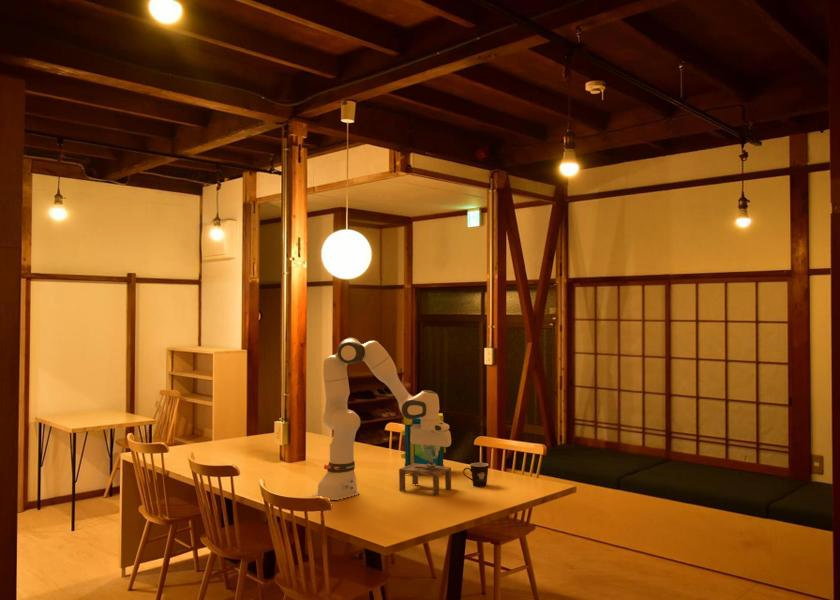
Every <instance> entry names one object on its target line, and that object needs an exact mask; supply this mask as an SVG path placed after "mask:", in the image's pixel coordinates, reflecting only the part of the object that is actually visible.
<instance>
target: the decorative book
mask: <svg viewBox="0 0 840 600" xmlns="http://www.w3.org/2000/svg"><path fill="white" fill-rule="evenodd" d="M439 418H440V421H441V422H444V415H443V412H442V413H441V412H439ZM414 424H421V417H420V418H416V419H407V418H406V417H404V416H403V425H404V430H403V429H402V430H400V435H401V436H404V446H405V447H404V452H402V453H400V458H401V459H404V460H405V462H404V467H406V466H408V465H411V464H414V463H417V464H426V465H427V463H429V460H426V459H424V453H423V449H422V448H421V445H419V444H412V443H411V426H412V425H414ZM416 427H417V426H416ZM429 446H430V445H426V446H425V448H426V447H429ZM434 447H436V446H434ZM446 448H447V447H441V446H440V449H439V451H438V458H435V459H433V463H435V466H444V467H445V464H444V453H447V452H446V451H447V449H446ZM432 471H433V470H432ZM405 474H412V473H407V472H405ZM441 475H442V476H443V475H444V476H445V473H443V474H441Z"/></svg>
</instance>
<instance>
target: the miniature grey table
mask: <svg viewBox="0 0 840 600" xmlns="http://www.w3.org/2000/svg"><path fill="white" fill-rule="evenodd" d="M432 470H433V471H432ZM398 472H399V473H398V476H399V479H398V482H399V483H398V486H399V487H398V489H399V490H404V491H406V475H405V472H407V473H412V475H411V476H412V481H411V482H412V484H415V485H414V486H417V485H416V484H418V485H419V475H425V476H432V486H433V487H432V489H433V490H432V494H433V496H436V495H438V496H440V475H441V474H443V473H444V476H445V480H444V481H445V490H449V491H450V490H452V467H450V466H445V465H444V466H435V468H427V465H426V464H417V463H414V464H411V465H408V466H406V467H405V466H404V467H400V468H398Z"/></svg>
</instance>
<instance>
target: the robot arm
mask: <svg viewBox="0 0 840 600" xmlns="http://www.w3.org/2000/svg"><path fill="white" fill-rule="evenodd" d="M337 347H338V348H337V350H336V351H337V353H335V354H332V355H329V356H327V357H325V358H324V360H323V364H322V365H323V368H322V369H323V373H322V374H323V381H324V382H323V383H324V391H325V409H324V412H323V416H322V419H323V422H324V424H325V425H326V426H327V427H328V428H329V429H330V430H332V431H333V437H332V440H331V442H330V443H329V461H328V464H324V466H323V469H324V470H326V473H325V474H324V476H322V478H321V480H320V481H319V482H318V485H317V492H315V493H313V494H312V496H313V497H315V496H322V497H327V498H329V499H330V500H338V501H340V500H339V499H341V500H344V499H343V498H345V499H347V497H348V498H351V496H352V497H355V496H358V494H359V495H360V491H359V490H358V482H357V481H358V480H357V475H356V473H355V469H356V462H355V459H354V456H355V455H354V452H355V451H354V450H355V449H354V447H355V440H356V439H355V438H356V434H357V431H358V430H359V428H360V427H361V417H360V416H359V415H358V414H357V413H356V412H355V411H354V410H351V409H348V400H349V396H350V394H351V393H350V385H349V377H348V365H352V364H355V363H359V362H362V361H363V362H365V365H366V366H367V367H368V369H369V371H370V372H371V373H372V374H373V375H374V376H375V377H376V379H378V380H379V381H380V382H382V383H384V384H385V386H387V387H388V389H389V390H390V392H391V394H393V396H394V397H395V399H396V401H397V405H398V409H399V412H400V414H401V415H402V416H403V418H404V417H406V418H407V419H416V418H420V417H421V424H414V425H412V426H411V443H412V444H419V445H421V448H422V449H423V453H424V448H425V446H426V445H430V446H436V448H437V449H436V451H435V452H434V456H437V455H438V451H439V449H440V446H441V447H446V448H448V447H450V446H451V444H452V435H451V431H450V430H449V429H450V425H449V424H448V423H445V422H444V421H443V422H441V421H440V418H439V413H440V412H439V411H440V399H439V394H438V393H437V392H435V391H433V390H428V389H427V390H425V389H424V390H421V391H420V392H419V393H418V394H415V395H413V394H410V393H409V392H408V390H407V388H405V386H404V384H403V383H402V381H401V380H400V378H399V376H398V372H397V371H398V370H397V367H396V364H395V362H394V361H393V359H392V357H391V356H390V354H389V352H388V351H387V350H386V348H384V347H383V345H381V344H380V343H379V341H377V340H369V341H367V342H365V343H361V341H360V340H359V339H358V338H356V337H353V336H350V337H346V338H345V339H343V340H342V341H340V343H339V345H338V346H337ZM416 426H417V427H416ZM354 495H355V496H354Z"/></svg>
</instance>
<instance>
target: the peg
mask: <svg viewBox="0 0 840 600" xmlns="http://www.w3.org/2000/svg"><path fill="white" fill-rule="evenodd" d="M436 449H437V448H436V447H434V446H429V447H426V448H424V459H426V460H429V463H427V468H435V463H433V459H435V458H438V455H437V456H434V452H435V451H436Z"/></svg>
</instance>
